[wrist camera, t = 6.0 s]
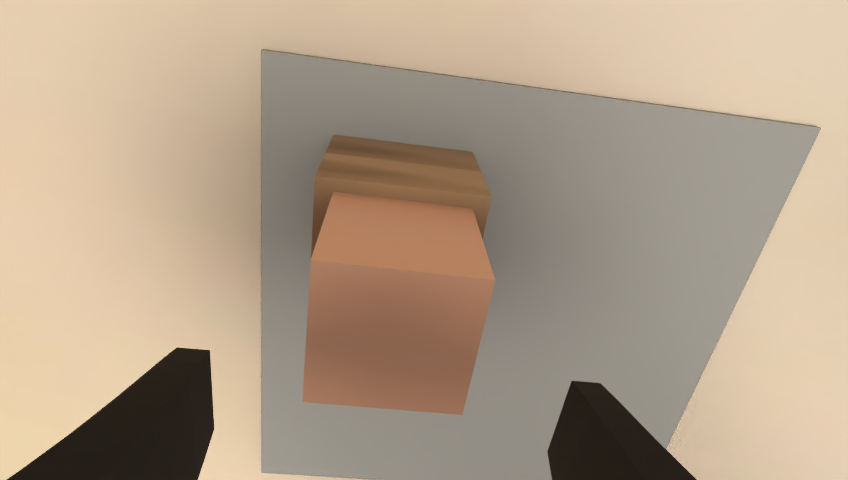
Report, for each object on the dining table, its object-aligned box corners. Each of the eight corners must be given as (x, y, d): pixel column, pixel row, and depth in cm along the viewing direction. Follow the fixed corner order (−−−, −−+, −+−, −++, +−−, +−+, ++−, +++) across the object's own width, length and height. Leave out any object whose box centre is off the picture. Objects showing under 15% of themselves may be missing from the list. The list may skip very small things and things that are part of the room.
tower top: (455, 300, 19) (461, 337, 17) (317, 287, 18) (307, 323, 16) (480, 171, 17) (491, 196, 15) (325, 152, 16) (314, 175, 14)
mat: (641, 492, 28) (643, 496, 27) (262, 469, 26) (261, 472, 26) (817, 126, 19) (821, 128, 19) (263, 49, 17) (261, 50, 17)
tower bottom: (450, 270, 21) (455, 300, 19) (326, 257, 20) (317, 287, 18) (472, 151, 19) (480, 171, 17) (333, 134, 18) (325, 152, 16)
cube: (449, 321, 17) (462, 415, 13) (324, 309, 16) (302, 402, 13) (472, 208, 15) (495, 280, 11) (333, 191, 14) (310, 259, 11)
